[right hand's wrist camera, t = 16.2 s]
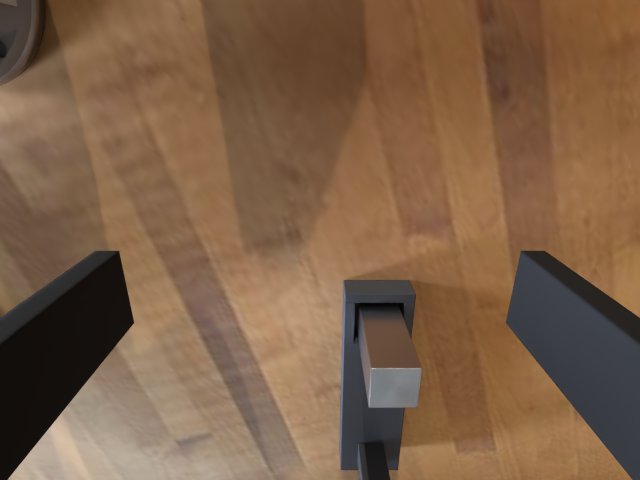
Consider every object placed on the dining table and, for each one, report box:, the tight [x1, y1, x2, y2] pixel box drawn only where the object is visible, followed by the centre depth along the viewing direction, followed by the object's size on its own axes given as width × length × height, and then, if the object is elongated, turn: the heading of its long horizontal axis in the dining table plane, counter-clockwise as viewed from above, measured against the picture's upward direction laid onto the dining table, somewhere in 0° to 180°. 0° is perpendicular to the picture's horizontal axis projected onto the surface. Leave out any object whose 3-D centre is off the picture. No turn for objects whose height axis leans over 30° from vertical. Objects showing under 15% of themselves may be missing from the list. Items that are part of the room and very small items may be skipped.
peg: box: [356, 303, 422, 408], centre depth 36 cm, size 4×4×12 cm
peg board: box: [339, 280, 416, 480], centre depth 39 cm, size 24×7×11 cm, turn 0°
